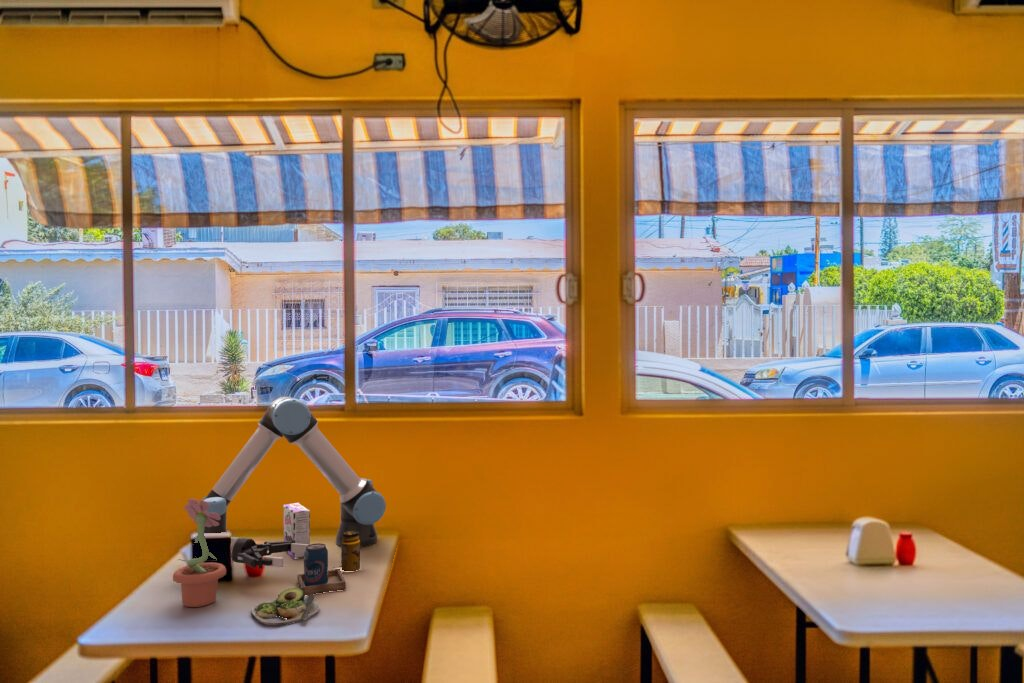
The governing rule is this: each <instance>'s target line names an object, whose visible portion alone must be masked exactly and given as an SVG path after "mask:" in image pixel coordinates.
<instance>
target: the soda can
mask: <svg viewBox="0 0 1024 683" xmlns="http://www.w3.org/2000/svg"><path fill="white" fill-rule="evenodd" d="M328 570H329V550H328V548H327V547H326V544H325V543H310V545H308V546H306V550H305V552H304V558H303V574H304V584H305V586H312V585H319V584H326V583H327V582H328Z"/></svg>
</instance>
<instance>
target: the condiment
mask: <svg viewBox="0 0 1024 683" xmlns="http://www.w3.org/2000/svg"><path fill="white" fill-rule="evenodd" d="M342 535H343V537H342V539H343V540H342V542H341V546H340V547H341V548H340V549H341V551H340V552H341V555H340V558H341V562H340V563H341V567H342V570H344V571H356V570H359V569H360V567H361V547H360V540H359V532H358V531H346V532H344V533H343V534H342ZM333 568H335V566H334V567H333ZM362 569H363V570H362V571H364V570H365V568H364V567H362ZM356 572H357V571H356Z"/></svg>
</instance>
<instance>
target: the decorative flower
mask: <svg viewBox="0 0 1024 683" xmlns="http://www.w3.org/2000/svg"><path fill="white" fill-rule="evenodd" d="M210 506H211V505H210V504H209V503H208V502H206V501H203V500H202V499H200V500H199V501H198V499H196V498H189V499H188V500H187V503H186V504H185V506H184V510H186V512H187V514H188V516H189V518H190V519H191V520H193V523H195V524H197V530H196V531H197V535H196V537H195V539H194V541H195V542H194V541H193V543H198V541H199V543H200V546H201V549H202V556H201V557H199V558H197V557H196V558H195V557H194V558H191V559H189V560H185V559H184V560H183V559H182V558H181V559H179V558H178V559H177V560H179V561H183V562H187V564H186V565H185V566H182V567H179V568H177V570H175V571H174V572H173V574H172V581H173V582H175V583H177V584H180V586H181V587H180V588H181V601H182V605H184V606H185V607H189V608H199V607H204V606H208V605H210V604H212V603H214V602H215V601H216V598H217V596H218V595H217V592H218V585H219V584H218V583H219V579H221V578H224V576H226V575H227V568H226V566H225V565H224V564H223V563H220V562H219V563H218V562H213V561H211V562H206V561H208V560H207V559H208V556H210V557H211V558H213V559H216V560H215V561H217V558H216V557H215V556H214V555H213V554H212V553H211V552H209V549H208V546H207V542H206V539H205V536H204V528H205V527H212V526H218V525H219V523H218V522H217V521H215V520H220V519H221V517H220V515H219V514H218V513H208V512H207V511H206V510H207V509H208V508H209V507H210ZM211 518H212V519H211ZM213 519H215V520H213Z"/></svg>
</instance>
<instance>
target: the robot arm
mask: <svg viewBox="0 0 1024 683" xmlns="http://www.w3.org/2000/svg"><path fill="white" fill-rule="evenodd" d="M318 424H319V420H318V419H316V417H315V416H314V414H312V412H311V411H310V409H309V407H308V405H307V404H306V403H305V402H304V401H302V400H301V399H298V398H295V397H291V396H289V395H288V396H286V395H285V396H281V397H278V398H276V399H275V400H274V401H272V402H271V403H270V405H269V406H268V408H267V409H266V411H265V413H264V414H263V416H262V417H261V418H260V420H259V421H258V422H257V426H258V427H257V429H255V432H254V433H253V434H252V435H251V436H250V438H249V439H248V441H247V442H246V443H245V444H244V446H243V447H242V449H241V450H240V451H239V452H238V453H237V455H236V457H235V458H234V459H233V460H232V462H231V464H230V465H229V466H228V467H227V468H226V470H225V471H224V472H223V474H222V475H221V477H220V478H219V479H218V480H217V482H216V483H215V484H214V486H212V489H211V490H210V491H209V493H208V494H207V495H206V496H204V497H202V499H201V500H203V501H206V502H208V503H209V504H210V505H211V506H210V507H209V508H208V509H207V510H206V511H207V512H208V513H218V514H219V515H220V517H221V519H220V520H215V519H213V520H215V521H217V522H218V523H219V525H218V526H212V527H205V528H204V533H221V532H226V533H227V510H228V506H229V505H230V503H231V502H232V500H233V499H234V497H235V496H236V495H237V493H238V492H239V491H240V490H241V488H242V487H243V486H244V484H245V482H246V481H248V479H249V477H250V476H251V475H252V473H253V472H254V470H255V469H256V468H257V467H258V466H259V464H260V463H261V461H262V460H263V459H264V457H265V456H266V455H267V453H268V452H269V451H270V449H271V448H272V446H274V443H276V441H277V440H279V439H282V438H283V437H284V438H285V440H286V441H287V442H288V443H289V444H291V445H297V446H298V447H299V449H300V450H301V451H302V452H303V453H304V455H306V457H307V458H308V459H309V461H310V462H312V464H313V465H314V467H316V468H317V469H318V471H319V472H320V473H321V474H322V475H323V476H324V478H325V479H326V480H327V481H328V482H329V484H331V486H332V487H333V488H334V489H335V490H336V491H337V493H338V494H339V502H340V524H339V526H338V528H337V529H338V530H337V534H336V537H335V544H336V545H337V546H338V547H341V542H342V540H343V539H342V537H343V535H342V534H343V533H344V532H346V531H358V532H359V540H360V548H361V547H367V546H370V545H371V546H372V545H373V544H375V543H377V542H378V532H377V529H376V526H375V523H377V522H379V521H380V520H382V519H381V518H383V516H384V514H385V512H386V508H387V507H386V506H387V505H386V500H385V497H384V496H383V495H382V494H381V493H380V492H378V491H377V490H376V489H375V488H374V484H373V480H372V479H370V478H369V479H367V478H365V477H364V478H363V477H360V476H358V475H357V473H356V471H354V469H353V468H352V467H351V466H350V465H349V463H347V461H346V460H345V459H344V458H343V456H342V455H341V454H340V453H339V452H338V450H336V448H335V447H334V446H333V445H332V444H331V442H330V441H329V440H328V438H326V437H325V435H324V434H323V433H322V431H321V430H320V429H319V427H318ZM211 519H212V518H211ZM230 537H231V558H232V563H231V564H233V563H237V564H243V565H246V566H249V568H252V569H256V568H258V569H260V570H261V569H263V566H264V567H270V568H271V567H274V568H284V562H285V561H284V557H280V556H279V557H278V556H271V555H272V554H278V553H287V552H288V551H291V552H294V553H304V552H305V550H306V546H308V545H307V544H296V543H295V541H294V540H292V541H284V540H283V541H282V540H281V541H264V542H263V543H256V541H255V540H254V539H252V538H247V537H237V536H236V537H235V536H230Z"/></svg>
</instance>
